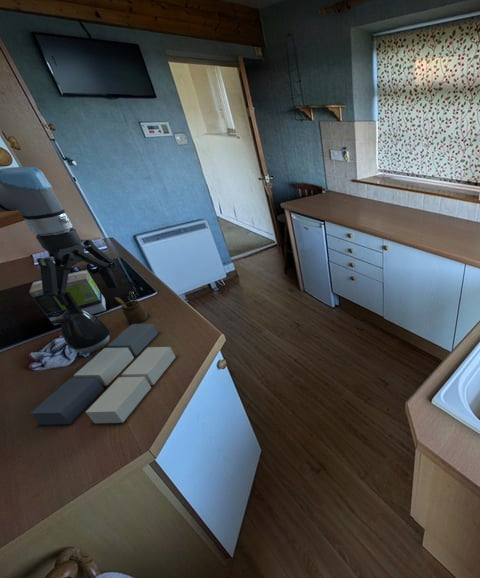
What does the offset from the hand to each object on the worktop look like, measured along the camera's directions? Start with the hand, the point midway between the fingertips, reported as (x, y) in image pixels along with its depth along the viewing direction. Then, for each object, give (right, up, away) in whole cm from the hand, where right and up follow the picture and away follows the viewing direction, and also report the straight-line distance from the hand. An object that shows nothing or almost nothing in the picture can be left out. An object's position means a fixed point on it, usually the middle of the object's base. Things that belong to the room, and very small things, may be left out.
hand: (96, 299), depth 87 cm
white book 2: (+17, -28, -9) cm, 34 cm away
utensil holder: (-7, -9, +23) cm, 25 cm away
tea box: (-32, -6, +26) cm, 42 cm away
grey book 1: (+4, -28, -9) cm, 30 cm away
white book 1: (+3, -22, +1) cm, 22 cm away
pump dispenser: (-10, -16, +10) cm, 22 cm away
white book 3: (+16, -22, +1) cm, 27 cm away
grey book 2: (+3, -16, +11) cm, 19 cm away
